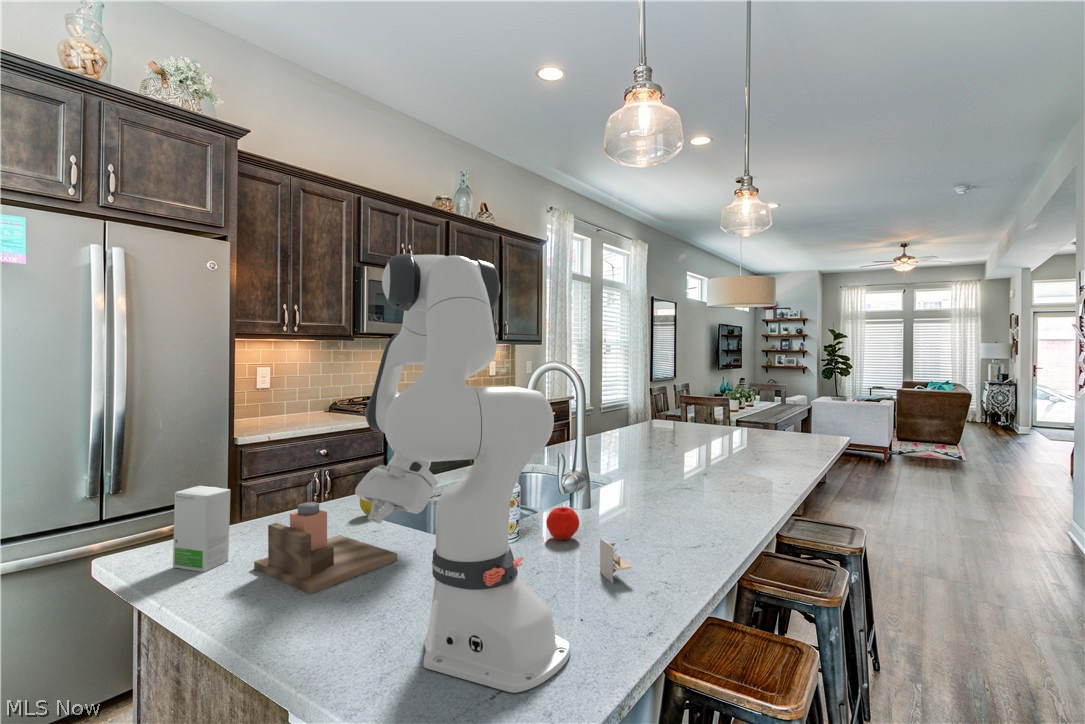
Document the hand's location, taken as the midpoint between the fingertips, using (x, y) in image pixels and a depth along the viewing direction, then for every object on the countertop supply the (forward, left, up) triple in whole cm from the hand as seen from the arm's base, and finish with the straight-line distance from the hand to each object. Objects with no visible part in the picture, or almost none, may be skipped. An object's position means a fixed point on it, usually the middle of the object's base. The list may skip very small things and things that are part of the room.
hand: (373, 521), depth 124 cm
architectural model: (-50, -17, -7) cm, 54 cm away
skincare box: (+21, +26, -6) cm, 35 cm away
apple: (-31, -31, -6) cm, 44 cm away
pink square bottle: (0, +16, -4) cm, 16 cm away
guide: (0, +11, -6) cm, 13 cm away
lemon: (+21, -16, -6) cm, 27 cm away
